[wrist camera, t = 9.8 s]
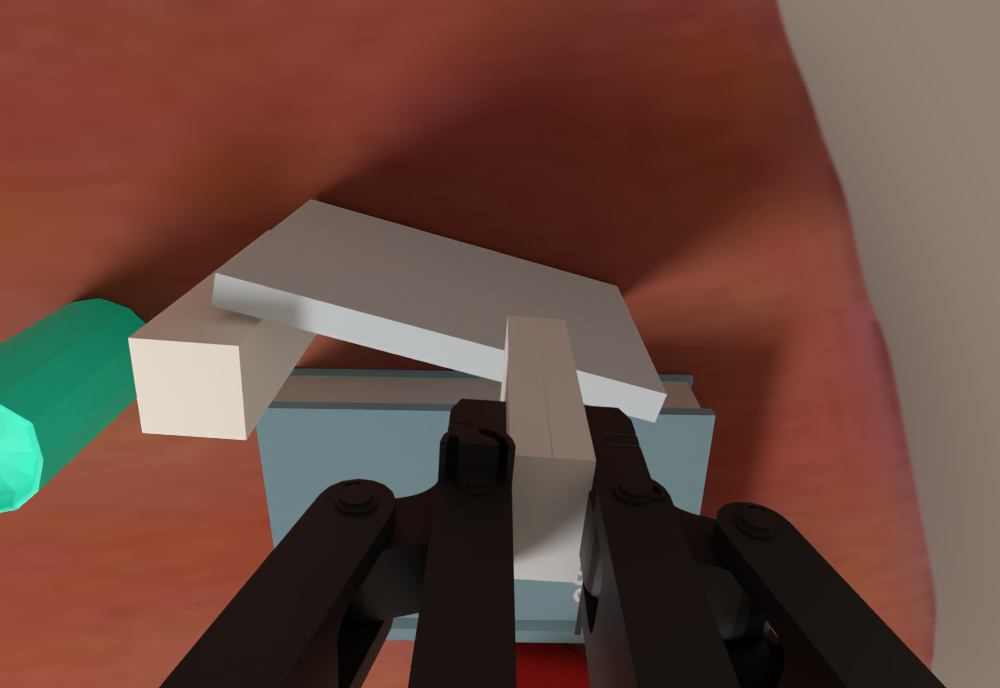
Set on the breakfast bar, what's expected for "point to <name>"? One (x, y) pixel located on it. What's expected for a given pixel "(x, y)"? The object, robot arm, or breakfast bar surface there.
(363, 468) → the book
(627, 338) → the door
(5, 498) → the candle
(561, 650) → the ceramic cup
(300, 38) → the breakfast bar surface
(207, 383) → the door frame
